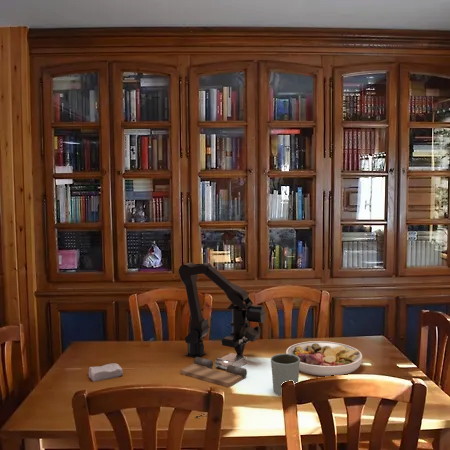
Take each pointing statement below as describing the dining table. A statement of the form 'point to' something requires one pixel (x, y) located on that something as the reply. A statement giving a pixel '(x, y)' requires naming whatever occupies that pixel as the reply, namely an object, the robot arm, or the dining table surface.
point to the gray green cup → (284, 370)
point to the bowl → (326, 358)
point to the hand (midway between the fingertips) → (240, 357)
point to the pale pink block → (230, 361)
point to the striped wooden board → (214, 372)
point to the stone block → (105, 372)
